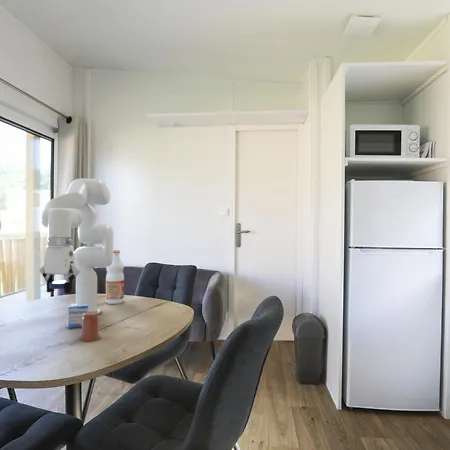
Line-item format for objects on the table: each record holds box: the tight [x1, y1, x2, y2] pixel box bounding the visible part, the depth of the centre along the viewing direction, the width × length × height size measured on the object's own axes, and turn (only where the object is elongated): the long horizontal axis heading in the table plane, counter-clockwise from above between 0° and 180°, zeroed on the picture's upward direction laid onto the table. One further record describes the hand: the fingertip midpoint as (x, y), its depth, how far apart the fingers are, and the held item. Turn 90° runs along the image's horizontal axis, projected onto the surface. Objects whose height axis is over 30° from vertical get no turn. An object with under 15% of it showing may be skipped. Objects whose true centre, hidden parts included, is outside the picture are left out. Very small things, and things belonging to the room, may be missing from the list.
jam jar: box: [81, 312, 100, 342], centre depth 138 cm, size 6×6×10 cm
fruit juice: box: [105, 249, 125, 305], centre depth 200 cm, size 9×9×28 cm
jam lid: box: [49, 280, 66, 290], centre depth 133 cm, size 7×7×2 cm
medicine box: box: [66, 304, 88, 329], centre depth 155 cm, size 8×4×9 cm, turn 117°
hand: (59, 291), depth 133 cm, fingers closed on jam lid, 6 cm apart
